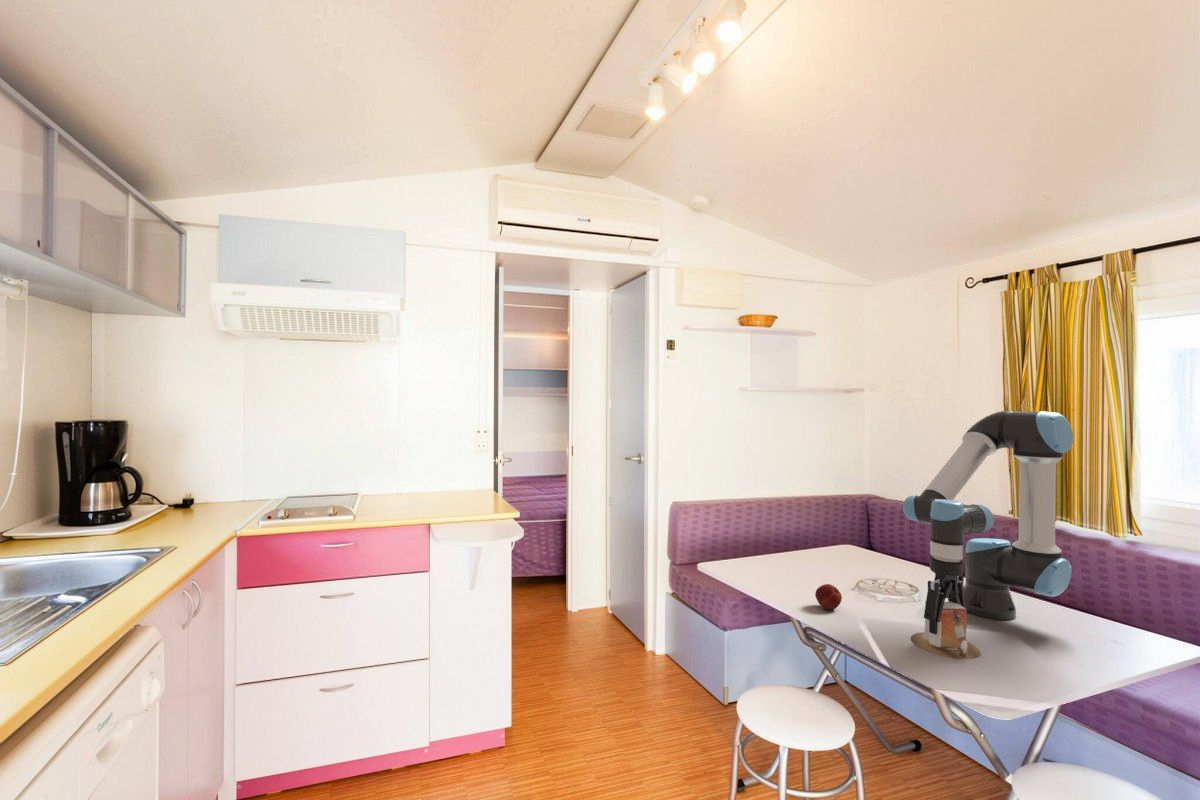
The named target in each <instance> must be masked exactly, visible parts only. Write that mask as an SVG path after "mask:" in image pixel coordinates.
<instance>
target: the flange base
mask: <svg viewBox="0 0 1200 800" xmlns="http://www.w3.org/2000/svg"><path fill="white" fill-rule="evenodd" d="M910 640H911V642H912V643H913V644H914V645H915V646H916V647H918V648H920V649H921V650H924V651H926V652H929V653H931V654H935V655H937V656H938V655H939V656H941V657H946V658H951V659H957V660H958V659H959V660H972V659H977V658H979V657H980V656H981V655H982V652H981V650H980V649H979V648H978V646H976V645H975V644H972V643H971V642H970V641H967V658H964V657H961V656H960V648H957V647H936V646H934V645H932V644H929V641H928V640H926V639H925V631H924V632H917V633H916V632H915V633H913V634H912V635H911V636H910Z"/></svg>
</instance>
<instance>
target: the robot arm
mask: <svg viewBox="0 0 1200 800" xmlns="http://www.w3.org/2000/svg"><path fill="white" fill-rule="evenodd" d="M1073 442H1074V435H1073V429H1072V427H1071V424H1070V422H1069V421H1068V420H1067V418H1066V417H1065V416H1064V415H1062V414H1061V413H1058V412H1052V411H1043V410H1042V411H1019V410H1018V411H1015V410H1014V411H1012V410H1002V411H997V412H994V413H991V414H990V415H989V414H988V415H987V416H985V417H983V418H982V419H980V420H978V421H977V422H976V423H974V424H973V425H971V427H970V428H969V429H967V431H966V432H965V433H964V435H963V436H962V443H961V444H960V445H959V446H958V448H957V449H956V450H955V451H954V452H953V454H952V455H951V456H950V457H949V459H948V460H947V461H946V463H945V464H944V465H943V466H942V468H941V469H940V470H939V471H938V473H937V474H936V475H935V477H934V478H933V479H932V480H931V482H930V483H928V485H927V486H926V488H925V489H924V490H923V491H922V493H920V495H916V494H915V495H909V496H907V497H906V498H905V499H904V501H903V505H902V510H903V511H902V512H903V514H904V515H905V517H906V519H908V520H911V521H914V522H918V523H921V524H927V525H930V542H929V543H928V544H929V547H930V551H929V552H930V553H929V554H930V555H931V556H930V558H929V569H930V571H931V572H932V573H934V574H935V575H934V580H933V581H931V580H928V581H927V592H926V599H925V601H926V605H925V607H924V613H923V619H924V620H925V619H928V620H929V644H932V645H934V646H937V647H941V622H939V620H940V616H941V613H942V609H943V605H944V602H946V599H947V600H948V601H947V602H950V601H951V602H954V603H957V604H959V605H961V606H962V607H964V608H966V609H967V613H970V614H972V615H975V616H978V617H982V618H987V619H991V620H992V619H993V620H999V621H1000V620H1002V621H1003V620H1007V621H1010V620H1013V619H1016V617H1017V608H1016V605H1015V602H1014V600H1013V596H1012V594H1011V592H1010V591H1011V590H1010V587H1015V588H1017V589H1021V590H1025V591H1028V592H1031V593H1032V592H1033V593H1034V594H1037V595H1043V596H1047V597H1057V596H1060V595H1061V594H1062V593H1064V592H1065V590H1066V589H1067V588H1068V587H1069V584H1070V581H1071V579H1072V578H1071V577H1072V573H1073V572H1072V571H1073V570H1072V569H1073V568H1072V565H1071V563H1070V561H1069V560H1067V559H1065V558H1063V557H1062V549H1061V548H1059V547H1058V546H1057V544H1056V498H1057V497H1056V490H1057V489H1056V487H1057V485H1056V484H1057V483H1056V481H1057V479H1056V478H1057V477H1056V475H1057V466H1056V465H1057V463H1058V462H1060V461H1061V460H1063V457H1064V455H1063V454H1065V453H1067V452H1069V451H1070V450H1071V449H1072V445H1073ZM999 449H1012V454H1013V455H1012V456H1013V457H1015V458H1016V459H1017V460H1018V461H1019V462H1018V463H1019V464H1018V467H1019V468H1018V469H1019V470H1018V471H1019V473H1018V477H1019V478H1018V539H1017V540H1015V541H1014V542H1013V543H1012V544H1011V542H1010V540H1007V539H1001V538H989V537H988V538H987V537H985V538H983V537H982V538H980V537H977V538H972V539H969V540H968V541H967V542H966V547H965V577H964V576H963V574H964V562H963V561H962V560H964V535H970V534H971V535H972V534H979V533H980V534H981V533H983V532H986V531H990V530H991V528H993V526H994V523H995V519H994V517H995V516H994V515H993V512H992V511H991V510H990V509H989V508H988V507H987V506H984V505H982V504H973V503H972V504H963V502H961V501H958V500H955V498H956V497H957V495H959V493H960V492H961V491H962V489H963V488H964V487H965V486H966V485H967V484H968V481H969V480H970V479H971V478H972V477H973V475H974V474H975V473H976V472H977V470H978V469H979V468H980V466H981V465H982V464H983V463H984V461H985V460H986V458H988V457H989V456H993V455H995V453H996V452H997V451H998V450H999ZM964 578H965V580H964ZM964 582H965V583H964Z"/></svg>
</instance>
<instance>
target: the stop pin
mask: <svg viewBox="0 0 1200 800" xmlns="http://www.w3.org/2000/svg"><path fill="white" fill-rule="evenodd" d="M967 642H968V641H967V639H966V640H963V639H960V656H961V657H964V658H967Z"/></svg>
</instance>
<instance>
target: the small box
mask: <svg viewBox="0 0 1200 800" xmlns="http://www.w3.org/2000/svg"><path fill="white" fill-rule="evenodd" d="M924 603H925V605H926V600H925V602H924ZM967 614H968V612H967V609H966V608H964V607H962V606H961V605H959V604H957V603H954V602H951V601H950V602H949V601H945V602H944V605H943V609H942V613H941V616H940V620H939V622H941V647H957V648H960V639H963V640H966V641H967ZM924 632H925V639H926V640H928V641H929V620H928V619H925V618H924ZM936 647H937V646H936Z"/></svg>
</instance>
